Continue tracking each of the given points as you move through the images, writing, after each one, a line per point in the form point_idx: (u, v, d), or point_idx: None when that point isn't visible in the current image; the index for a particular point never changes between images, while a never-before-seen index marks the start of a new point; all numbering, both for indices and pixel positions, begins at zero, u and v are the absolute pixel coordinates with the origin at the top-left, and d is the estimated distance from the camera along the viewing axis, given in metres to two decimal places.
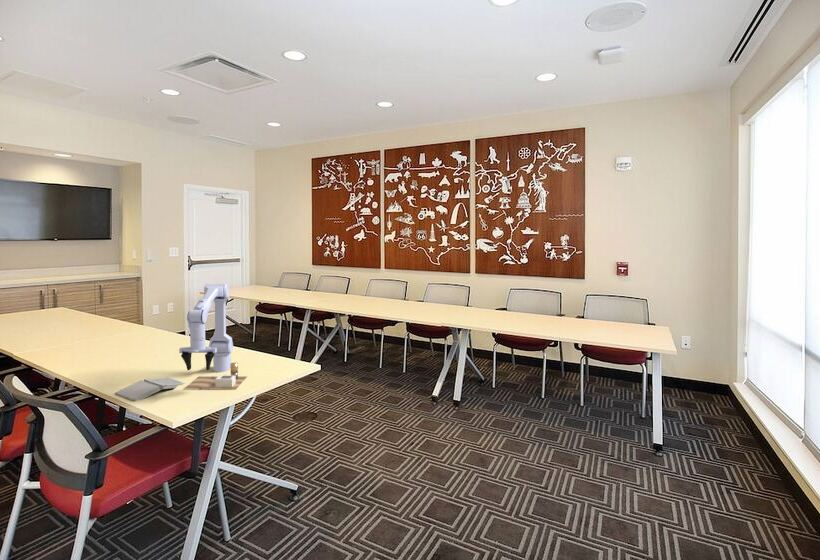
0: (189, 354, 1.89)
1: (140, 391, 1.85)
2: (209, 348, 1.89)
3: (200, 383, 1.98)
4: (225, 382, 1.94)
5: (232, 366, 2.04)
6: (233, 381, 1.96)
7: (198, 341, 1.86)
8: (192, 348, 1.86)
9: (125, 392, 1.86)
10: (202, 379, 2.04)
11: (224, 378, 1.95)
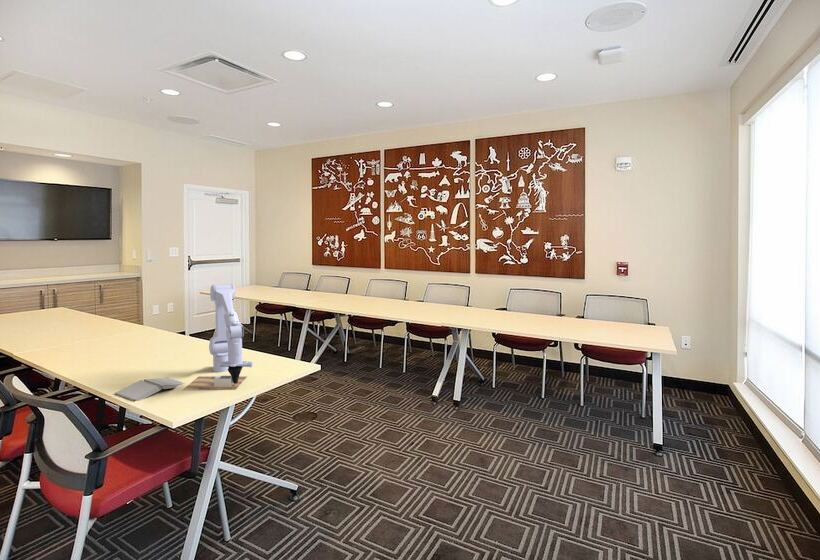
0: (235, 368, 1.97)
1: (140, 391, 1.85)
2: (246, 362, 1.96)
3: (200, 383, 1.98)
4: (224, 381, 1.94)
5: None
6: (232, 381, 1.96)
7: (236, 356, 1.93)
8: (230, 362, 1.94)
9: (125, 392, 1.86)
10: (202, 379, 2.04)
11: (223, 378, 1.95)
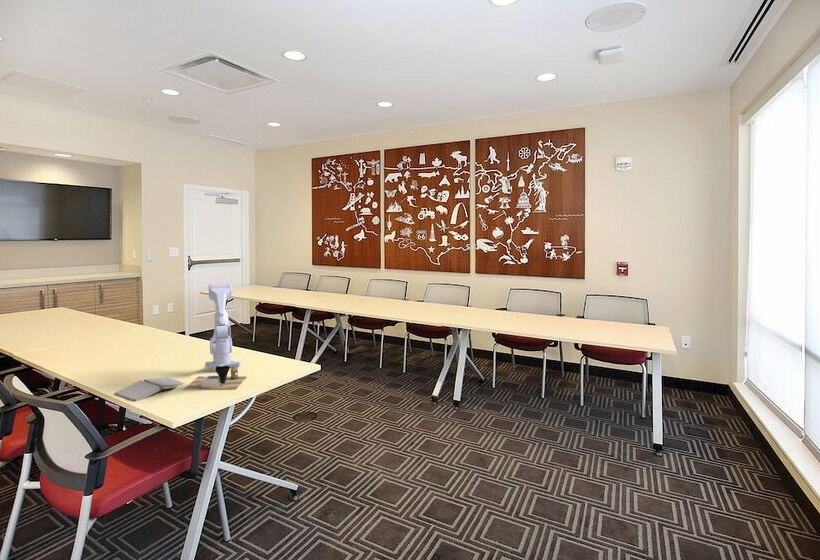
0: None
1: (140, 391, 1.85)
2: (233, 362, 1.96)
3: (200, 383, 1.98)
4: (211, 382, 1.94)
5: None
6: (219, 381, 1.96)
7: (223, 356, 1.93)
8: (217, 362, 1.93)
9: (125, 392, 1.86)
10: None
11: (210, 378, 1.94)
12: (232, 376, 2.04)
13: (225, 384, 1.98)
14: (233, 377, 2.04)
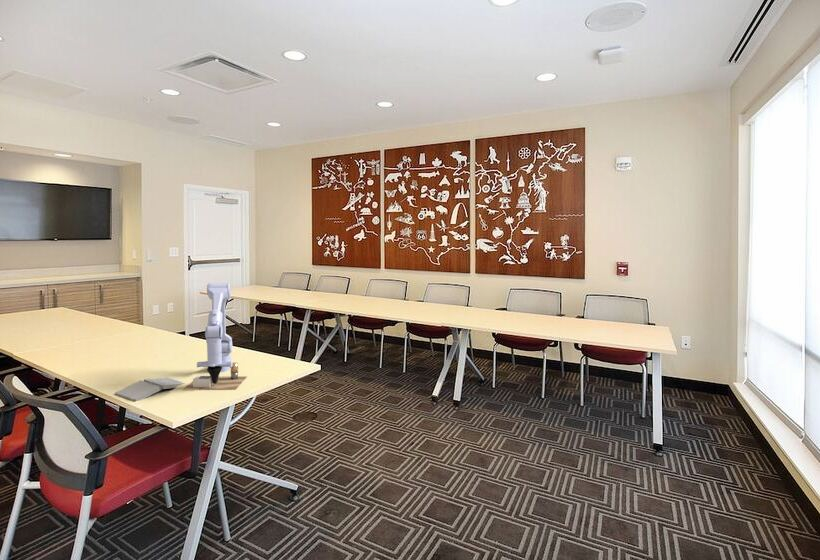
0: None
1: (140, 391, 1.85)
2: (225, 362, 1.96)
3: None
4: (203, 382, 1.93)
5: (232, 366, 2.04)
6: (211, 381, 1.96)
7: (215, 356, 1.93)
8: (209, 362, 1.93)
9: (125, 392, 1.86)
10: None
11: (202, 378, 1.94)
12: (232, 376, 2.04)
13: (225, 384, 1.98)
14: (233, 377, 2.04)
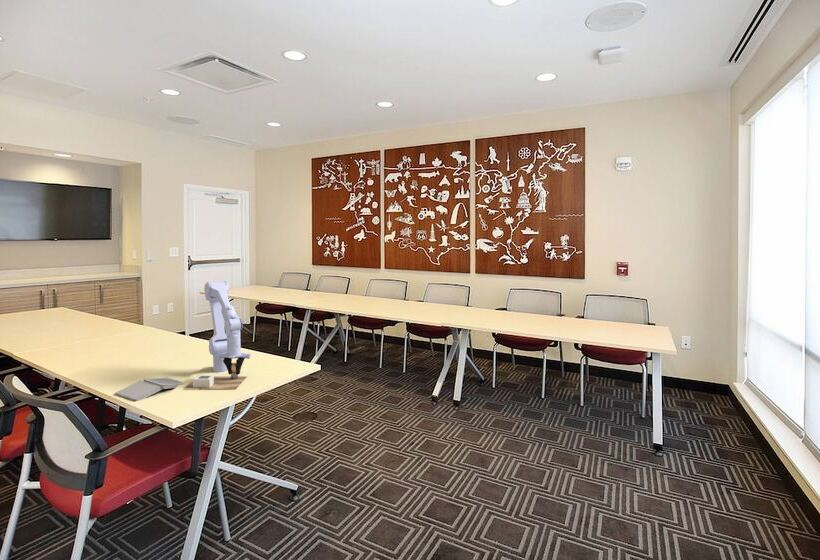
0: (230, 360, 2.05)
1: (141, 391, 1.85)
2: (244, 354, 2.05)
3: None
4: (203, 382, 1.93)
5: (232, 366, 2.04)
6: (211, 381, 1.96)
7: (234, 348, 2.02)
8: (229, 354, 2.02)
9: (125, 392, 1.85)
10: None
11: (202, 378, 1.94)
12: (232, 376, 2.04)
13: (225, 384, 1.98)
14: (233, 377, 2.04)
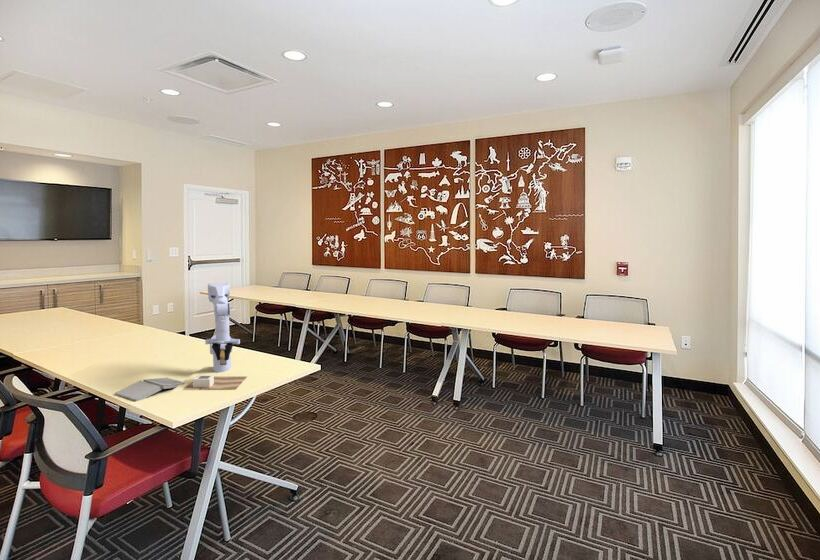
0: (219, 345, 2.03)
1: (141, 391, 1.85)
2: (233, 339, 2.03)
3: None
4: (203, 382, 1.93)
5: (221, 352, 2.02)
6: (211, 381, 1.96)
7: (223, 333, 2.00)
8: (217, 339, 2.00)
9: (125, 392, 1.85)
10: None
11: (202, 378, 1.94)
12: (221, 362, 2.02)
13: (225, 384, 1.98)
14: (222, 363, 2.02)
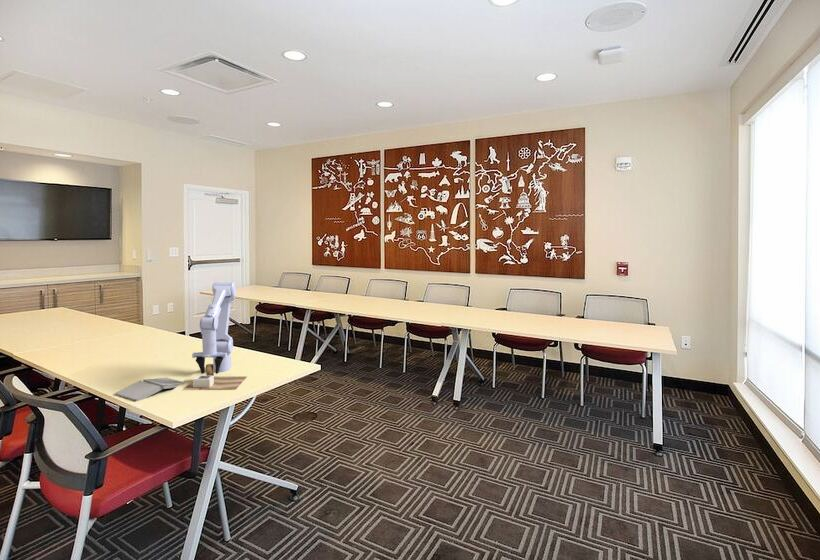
0: (203, 359, 2.02)
1: (141, 391, 1.85)
2: (220, 353, 2.02)
3: None
4: (203, 382, 1.93)
5: (207, 367, 2.01)
6: (211, 381, 1.96)
7: (210, 347, 1.99)
8: (204, 353, 1.99)
9: (125, 392, 1.85)
10: None
11: (202, 378, 1.94)
12: None
13: (225, 384, 1.98)
14: None
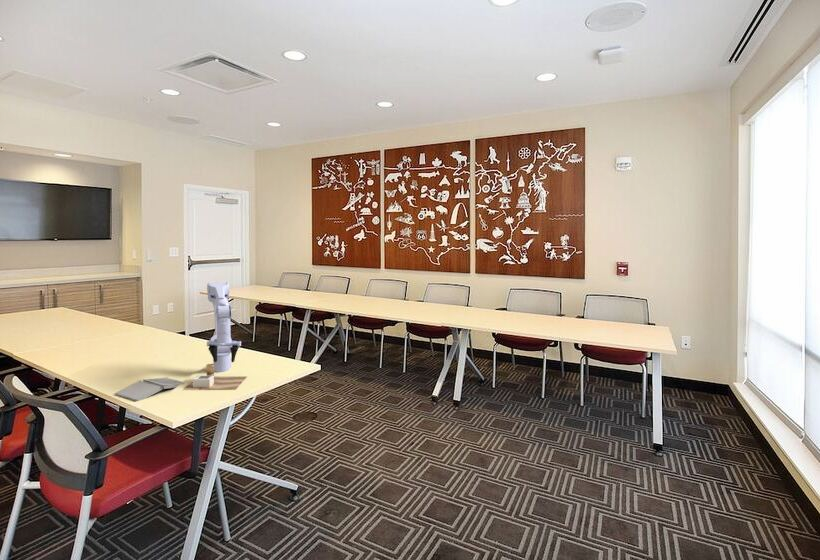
0: (215, 347, 2.03)
1: (141, 391, 1.85)
2: (234, 342, 2.03)
3: None
4: (203, 382, 1.93)
5: (208, 367, 2.01)
6: (211, 381, 1.96)
7: (224, 335, 2.00)
8: (219, 342, 2.00)
9: (125, 392, 1.85)
10: None
11: (202, 378, 1.94)
12: None
13: (225, 384, 1.98)
14: None
